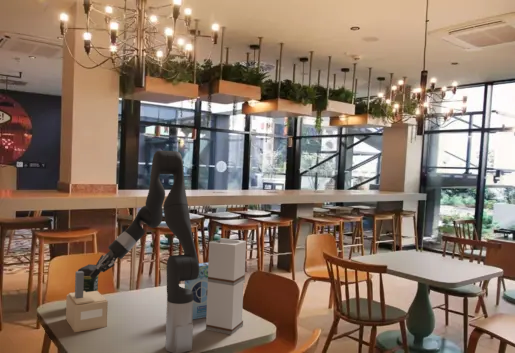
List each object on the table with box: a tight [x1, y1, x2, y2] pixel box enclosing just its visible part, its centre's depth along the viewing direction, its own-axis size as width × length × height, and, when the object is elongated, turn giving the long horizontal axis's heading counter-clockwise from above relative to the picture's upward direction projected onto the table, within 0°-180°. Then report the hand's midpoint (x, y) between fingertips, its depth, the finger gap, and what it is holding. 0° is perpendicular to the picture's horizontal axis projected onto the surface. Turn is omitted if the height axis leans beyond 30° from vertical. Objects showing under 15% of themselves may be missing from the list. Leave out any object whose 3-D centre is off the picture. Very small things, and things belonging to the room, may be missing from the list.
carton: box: [65, 290, 109, 333], centre depth 168 cm, size 16×12×10 cm
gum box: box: [184, 261, 209, 320], centre depth 182 cm, size 20×5×23 cm, turn 123°
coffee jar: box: [77, 263, 100, 292], centre depth 186 cm, size 10×8×19 cm
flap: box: [68, 270, 94, 304], centre depth 166 cm, size 14×6×11 cm, turn 35°
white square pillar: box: [205, 237, 247, 336], centre depth 168 cm, size 11×11×35 cm
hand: (91, 277), depth 169 cm, fingers closed
